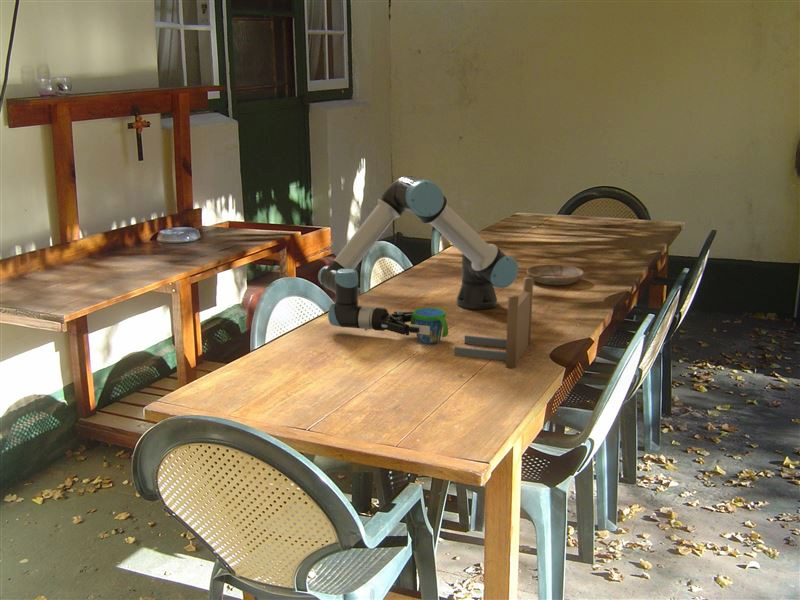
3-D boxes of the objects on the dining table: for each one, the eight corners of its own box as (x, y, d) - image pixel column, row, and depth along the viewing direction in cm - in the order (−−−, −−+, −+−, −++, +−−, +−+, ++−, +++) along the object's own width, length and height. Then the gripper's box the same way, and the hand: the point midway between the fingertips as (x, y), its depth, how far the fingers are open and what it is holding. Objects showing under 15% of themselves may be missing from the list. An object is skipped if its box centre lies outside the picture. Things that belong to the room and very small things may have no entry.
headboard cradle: (470, 336, 311) (471, 272, 305) (531, 342, 305) (533, 277, 299) (448, 361, 286) (450, 292, 280) (514, 368, 280) (517, 298, 274)
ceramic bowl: (515, 278, 391) (515, 267, 390) (563, 273, 400) (563, 262, 399) (544, 291, 370) (545, 279, 369) (594, 286, 379) (595, 274, 378)
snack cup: (456, 344, 302) (457, 314, 300) (430, 350, 297) (431, 319, 294) (427, 333, 315) (427, 304, 312) (402, 338, 309) (402, 308, 306)
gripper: (386, 319, 322) (445, 325, 316) (361, 340, 299) (424, 346, 293) (386, 298, 320) (446, 304, 314) (360, 317, 297) (424, 324, 291)
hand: (435, 324), depth 303 cm, fingers open, 13 cm apart
